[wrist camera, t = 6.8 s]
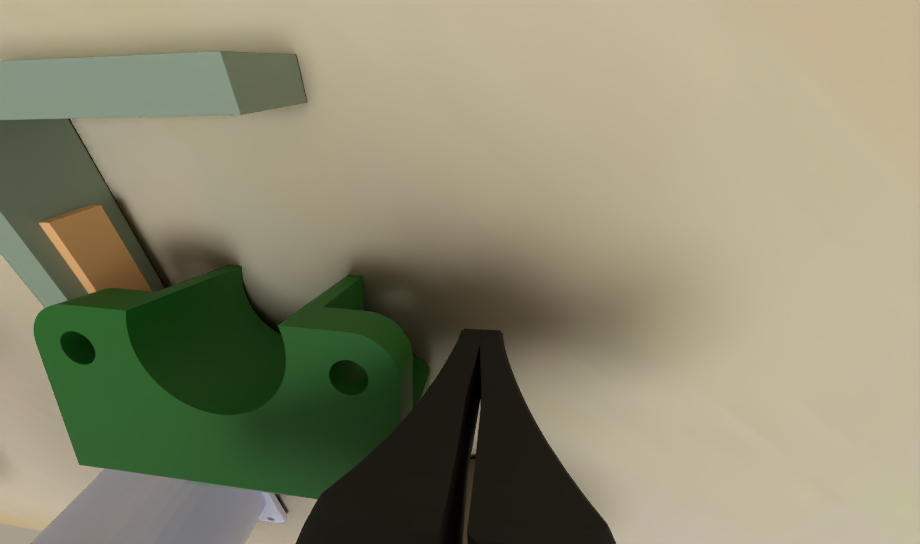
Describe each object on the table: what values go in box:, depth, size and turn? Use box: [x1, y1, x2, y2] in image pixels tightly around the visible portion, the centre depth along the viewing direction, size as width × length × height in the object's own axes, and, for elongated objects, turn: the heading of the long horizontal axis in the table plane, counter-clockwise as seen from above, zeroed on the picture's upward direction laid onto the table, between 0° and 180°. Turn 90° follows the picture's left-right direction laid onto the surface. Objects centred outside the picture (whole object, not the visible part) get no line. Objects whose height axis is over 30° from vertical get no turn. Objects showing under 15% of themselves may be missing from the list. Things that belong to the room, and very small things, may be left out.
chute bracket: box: [0, 51, 307, 497], centre depth 14 cm, size 10×18×3 cm, turn 2°
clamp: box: [34, 265, 429, 499], centre depth 13 cm, size 12×6×9 cm, turn 83°
